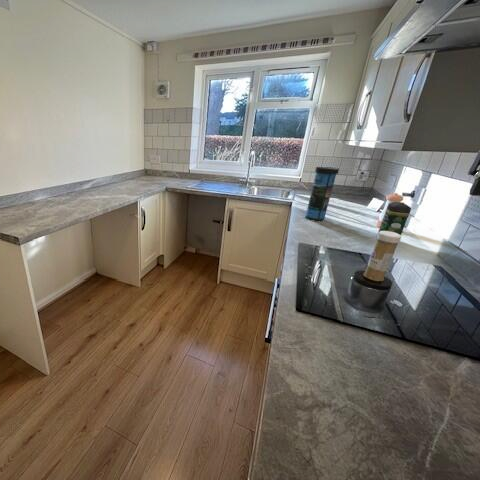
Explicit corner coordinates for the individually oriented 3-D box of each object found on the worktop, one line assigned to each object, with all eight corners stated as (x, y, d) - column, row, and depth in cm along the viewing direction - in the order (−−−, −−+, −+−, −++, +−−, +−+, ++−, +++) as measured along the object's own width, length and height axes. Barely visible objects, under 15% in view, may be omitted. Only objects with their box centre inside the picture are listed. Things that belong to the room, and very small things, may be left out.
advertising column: (327, 218, 157) (341, 168, 145) (322, 223, 149) (336, 169, 138) (307, 215, 164) (318, 166, 152) (301, 218, 156) (313, 167, 145)
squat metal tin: (369, 300, 80) (380, 271, 76) (388, 319, 71) (402, 288, 67) (337, 297, 81) (346, 268, 77) (352, 316, 73) (364, 285, 69)
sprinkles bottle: (359, 273, 74) (374, 230, 69) (375, 274, 74) (391, 230, 69) (371, 282, 70) (388, 236, 65) (388, 282, 70) (406, 236, 65)
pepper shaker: (385, 229, 140) (398, 194, 133) (372, 225, 146) (384, 192, 139) (395, 229, 141) (409, 194, 134) (382, 224, 148) (394, 191, 141)
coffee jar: (374, 235, 132) (387, 199, 125) (394, 238, 128) (408, 201, 121) (378, 241, 124) (392, 204, 117) (399, 245, 121) (415, 206, 113)
